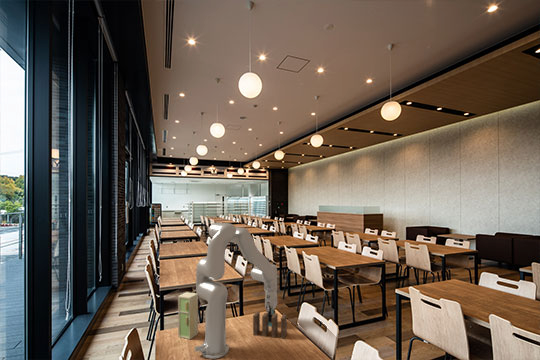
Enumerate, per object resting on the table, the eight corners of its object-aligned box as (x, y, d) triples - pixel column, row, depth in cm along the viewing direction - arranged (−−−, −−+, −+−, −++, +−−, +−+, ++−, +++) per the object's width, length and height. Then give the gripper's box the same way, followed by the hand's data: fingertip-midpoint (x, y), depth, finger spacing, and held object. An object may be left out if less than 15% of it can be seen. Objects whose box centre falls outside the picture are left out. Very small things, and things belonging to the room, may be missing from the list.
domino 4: (271, 337, 138) (271, 317, 139) (274, 332, 143) (273, 313, 144) (275, 338, 137) (275, 317, 138) (277, 333, 142) (277, 313, 143)
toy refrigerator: (176, 337, 139) (177, 296, 141) (186, 331, 146) (186, 291, 148) (189, 340, 136) (189, 298, 138) (198, 333, 143) (198, 293, 144)
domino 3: (268, 326, 150) (268, 308, 151) (270, 322, 155) (270, 304, 156) (271, 326, 150) (271, 308, 150) (273, 322, 154) (273, 305, 155)
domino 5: (281, 338, 137) (280, 318, 137) (283, 333, 141) (282, 314, 142) (284, 339, 136) (284, 318, 137) (286, 334, 141) (286, 314, 142)
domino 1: (253, 335, 141) (253, 315, 141) (256, 330, 145) (256, 311, 146) (256, 335, 140) (256, 315, 141) (259, 331, 145) (259, 312, 146)
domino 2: (262, 336, 139) (262, 316, 140) (265, 331, 144) (264, 312, 145) (266, 336, 139) (265, 316, 140) (268, 332, 144) (268, 312, 144)
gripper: (273, 292, 145) (273, 327, 143) (280, 282, 161) (280, 314, 160) (259, 291, 147) (260, 325, 145) (268, 282, 163) (268, 312, 162)
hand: (271, 319), depth 153 cm, fingers closed on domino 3, 4 cm apart
